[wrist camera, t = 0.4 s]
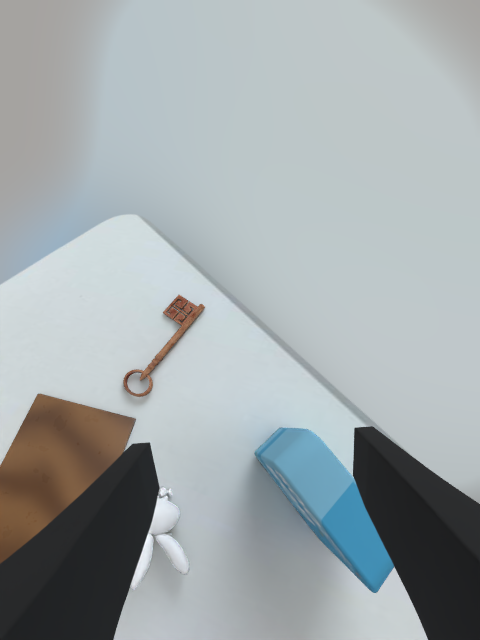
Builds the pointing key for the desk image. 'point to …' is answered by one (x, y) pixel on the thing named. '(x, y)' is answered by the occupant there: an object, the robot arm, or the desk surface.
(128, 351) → the desk surface
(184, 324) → the key
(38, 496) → the brown wooden board
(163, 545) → the rabbit figurine
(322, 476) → the data package
